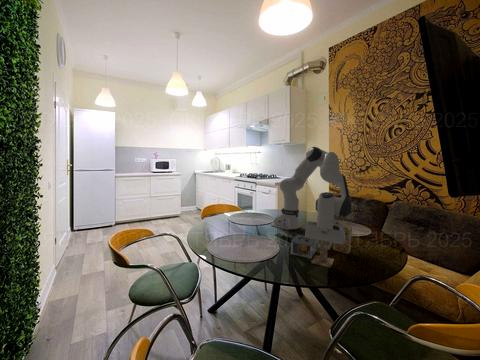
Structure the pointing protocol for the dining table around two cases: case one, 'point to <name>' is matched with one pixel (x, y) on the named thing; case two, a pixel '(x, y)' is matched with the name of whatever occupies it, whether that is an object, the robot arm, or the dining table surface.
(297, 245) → the guard box
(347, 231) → the candy box
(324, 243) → the beige square bar
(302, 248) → the glossy orange ball
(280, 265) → the dining table surface
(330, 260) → the cork pad
